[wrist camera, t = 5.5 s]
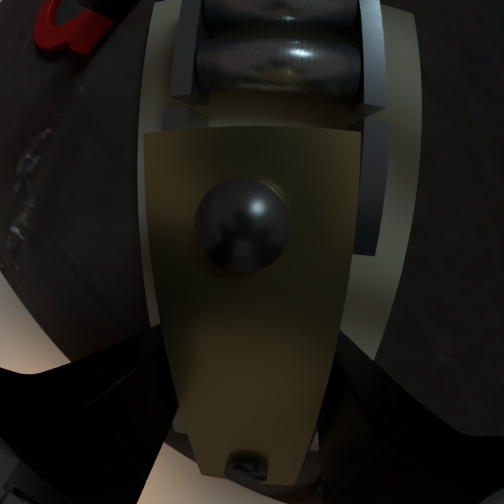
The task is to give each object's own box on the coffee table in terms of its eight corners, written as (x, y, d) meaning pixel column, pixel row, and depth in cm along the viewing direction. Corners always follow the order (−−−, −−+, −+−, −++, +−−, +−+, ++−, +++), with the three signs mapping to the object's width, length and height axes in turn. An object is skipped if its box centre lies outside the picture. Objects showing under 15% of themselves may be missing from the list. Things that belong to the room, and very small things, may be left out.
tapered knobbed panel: (297, 403, 11) (293, 493, 7) (224, 397, 12) (198, 482, 7) (325, 146, 8) (366, 129, 3) (213, 143, 8) (131, 132, 4)
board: (329, 439, 16) (330, 450, 15) (178, 421, 17) (174, 431, 16) (405, 22, 7) (413, 14, 6) (163, 11, 8) (154, 2, 7)
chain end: (199, -2, 7) (180, -28, 5) (367, 5, 7) (382, -22, 4) (184, 220, 11) (159, 237, 8) (360, 235, 10) (377, 256, 8)
